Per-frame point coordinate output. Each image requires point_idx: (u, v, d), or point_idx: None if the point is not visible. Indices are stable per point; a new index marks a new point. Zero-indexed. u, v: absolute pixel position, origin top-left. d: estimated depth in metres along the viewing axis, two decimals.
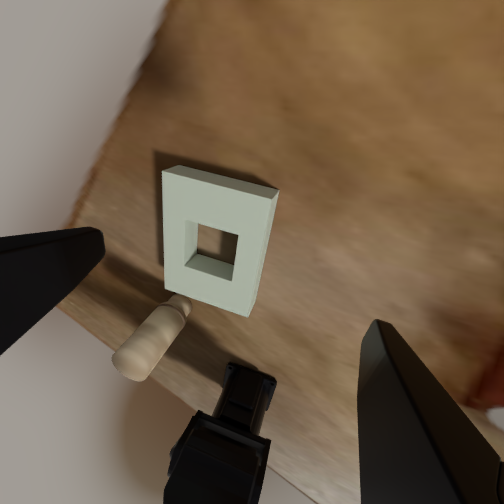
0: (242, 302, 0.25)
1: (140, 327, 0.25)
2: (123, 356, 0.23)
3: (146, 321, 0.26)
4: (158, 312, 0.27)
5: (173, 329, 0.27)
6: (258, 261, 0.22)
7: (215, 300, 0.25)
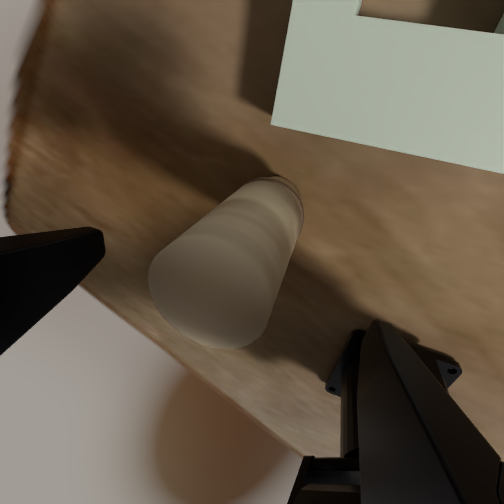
0: None
1: (219, 206, 0.09)
2: (191, 256, 0.07)
3: (231, 198, 0.10)
4: (252, 187, 0.11)
5: (294, 223, 0.10)
6: None
7: (426, 131, 0.09)
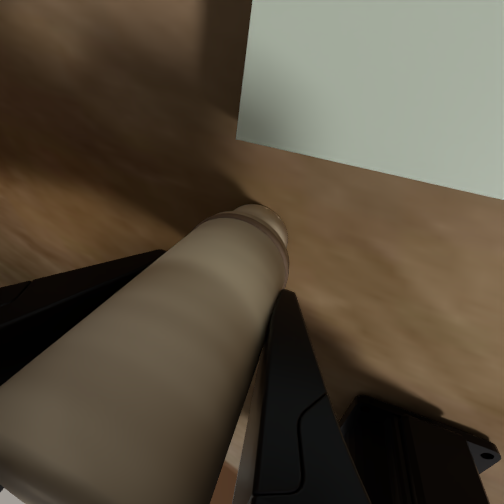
0: None
1: (141, 276, 0.06)
2: (8, 448, 0.03)
3: (166, 257, 0.06)
4: (208, 232, 0.07)
5: (270, 291, 0.07)
6: None
7: (483, 154, 0.06)
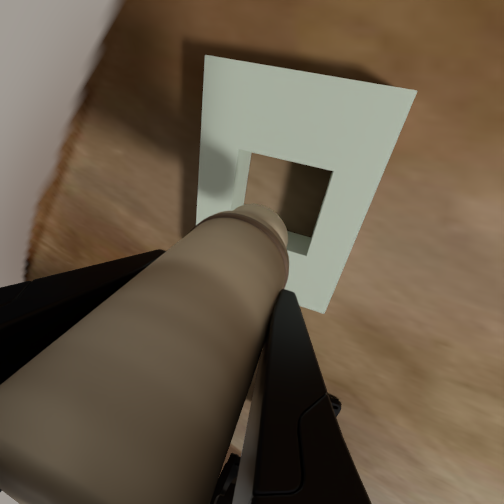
0: (318, 289, 0.16)
1: (140, 276, 0.06)
2: (3, 451, 0.03)
3: (166, 257, 0.06)
4: (208, 231, 0.07)
5: (269, 291, 0.07)
6: (362, 218, 0.13)
7: None
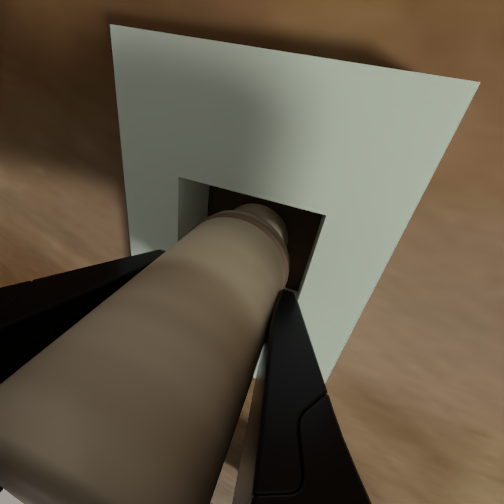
0: None
1: (141, 275, 0.06)
2: (6, 447, 0.03)
3: (166, 255, 0.06)
4: (208, 231, 0.07)
5: (270, 290, 0.07)
6: (371, 287, 0.08)
7: None
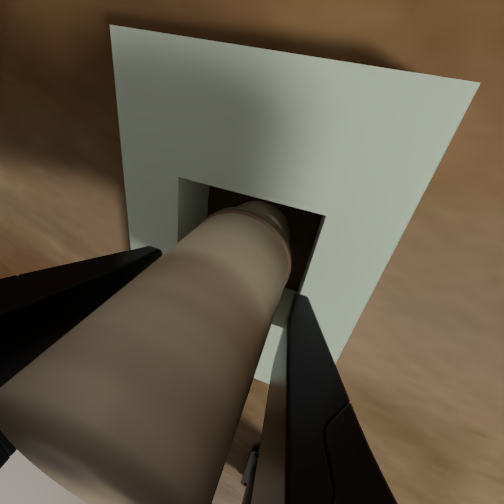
0: None
1: (153, 266, 0.06)
2: (42, 414, 0.03)
3: (176, 249, 0.06)
4: (215, 226, 0.08)
5: (274, 282, 0.07)
6: (371, 287, 0.08)
7: None
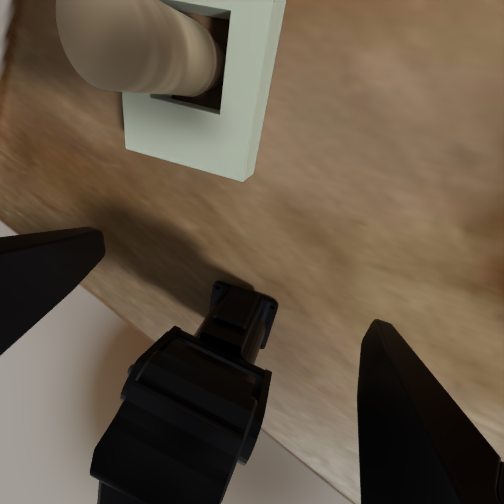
0: (234, 153, 0.17)
1: None
2: None
3: None
4: None
5: (197, 37, 0.13)
6: (261, 63, 0.14)
7: (196, 156, 0.18)
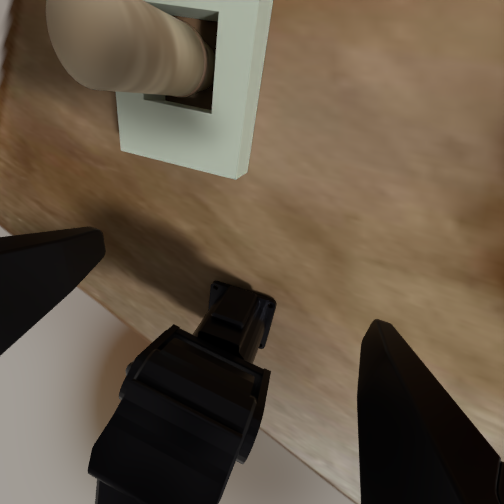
0: (227, 151, 0.17)
1: None
2: None
3: None
4: None
5: (185, 37, 0.13)
6: (249, 61, 0.14)
7: (190, 156, 0.18)
